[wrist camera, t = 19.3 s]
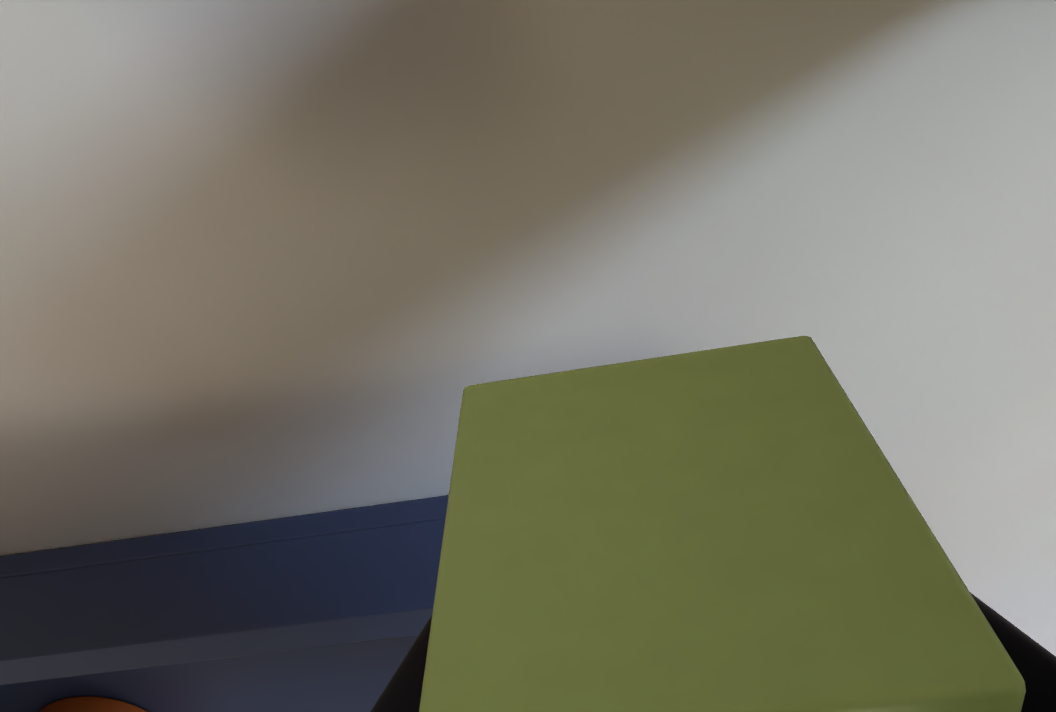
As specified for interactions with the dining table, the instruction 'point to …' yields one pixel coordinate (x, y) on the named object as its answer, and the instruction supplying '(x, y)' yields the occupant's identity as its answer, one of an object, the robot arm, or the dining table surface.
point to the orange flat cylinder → (91, 705)
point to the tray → (225, 613)
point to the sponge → (695, 551)
